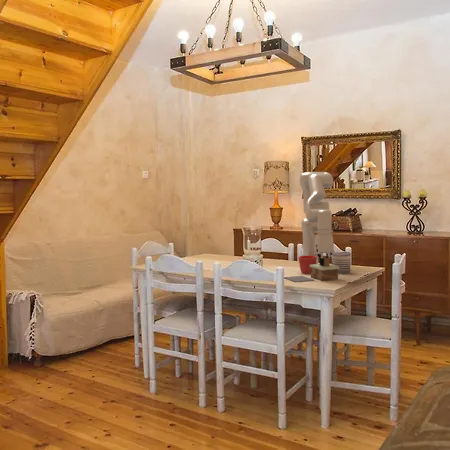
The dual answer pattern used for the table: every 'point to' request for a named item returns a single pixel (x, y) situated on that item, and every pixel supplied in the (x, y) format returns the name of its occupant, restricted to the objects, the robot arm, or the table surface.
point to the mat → (299, 279)
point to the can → (342, 262)
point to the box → (324, 274)
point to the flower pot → (306, 263)
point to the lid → (325, 266)
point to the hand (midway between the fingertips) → (324, 264)
